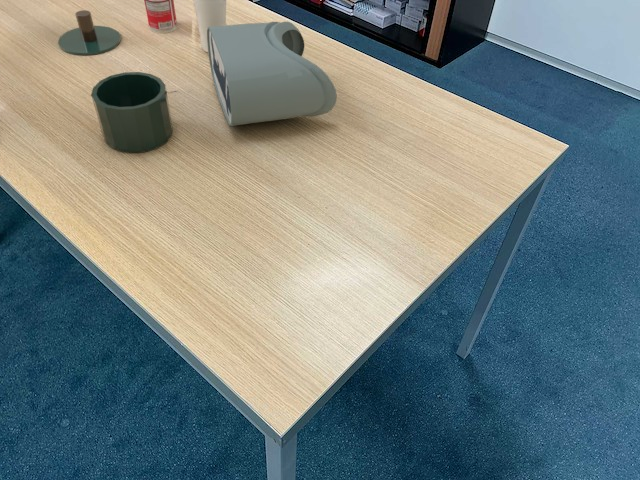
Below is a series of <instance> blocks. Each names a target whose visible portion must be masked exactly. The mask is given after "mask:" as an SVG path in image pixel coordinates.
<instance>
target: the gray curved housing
mask: <svg viewBox="0 0 640 480" xmlns="http://www.w3.org/2000/svg"><path fill="white" fill-rule="evenodd" d="M207 42H208V53H207V54H208V59H209V66H210V71H211V76H212V81H213V84H214V88H215V92H216V94H217V97H218V101H219V103H220V106H221V109H222V112H223V114H224V116H225V119H226V122H227V123H228V125H229V127H236V126H241V125H249V124H256V123H264V122H272V121H273V122H274V121H278V120H279V121H281V120H287V119H293V118H299V117H305V118H307V117H318V116H322V115H325V114H328V113H329V112H331V111H332V109H333V108H334V107H335V106H336V103H337V100H338V99H337V97H338V95H337V89H336V87H335V85H334V83H333V81H332V79H331V78H330V77H329V75H328V74H327V73H326V72H325V71H324V70H323V69H322V68H321V67H319V66H318V65H317V64H315V63H314V62H312V61H311V60H309V59H308V58H305V57H303V54H304V51H305V40H304V37H303V35H302V33H301V31H300V29H299V28H298V27H297V26H296V25H294V24H293V23H292V22H290V21H282V22H280V21H270V22H254V23H253V22H252V23H238V24H228V25H227V24H226V26H215V27H208V29H207Z"/></svg>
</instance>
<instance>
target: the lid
mask: <svg viewBox="0 0 640 480" xmlns="http://www.w3.org/2000/svg"><path fill="white" fill-rule="evenodd" d="M74 14H75V15H74V16H75V18H76V22H77V26H78V27H76V28H73V29H69V30H67V31H66V32H64V33H63V34H62V35H61V36H60V37H59V38H58V41H57V44H58V46H59V48H60V50H62V51H63V52H65V53H67V54H69V55H70V54H71V55H74V56H95V55H99V54H100V55H101V54H104V53H107V52H110V51H112V50H114V49H116V48H117V47H118V46H119V45H120V43H121V42H122V37H121V34H120V32H119V31H117V30H116V29H114V28H112V27H109V26H105V25H95V24H94V21H93V16H92V12H91V11H89V10H86V9H84V10H82V9H81V10H78V11H76V12H75V13H74Z"/></svg>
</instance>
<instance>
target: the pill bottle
mask: <svg viewBox="0 0 640 480" xmlns="http://www.w3.org/2000/svg"><path fill="white" fill-rule="evenodd" d="M143 1H144V7H145V11H146V18H147V22H148V28H149V30H150V31H151V32H153V33H157V34H168V33H173V32H174V31H176V30H177V28H178V21H177V14H176V8H175V1H174V0H143Z"/></svg>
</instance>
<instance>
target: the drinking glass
mask: <svg viewBox="0 0 640 480" xmlns="http://www.w3.org/2000/svg"><path fill="white" fill-rule="evenodd" d="M192 2H193V8H194V13H195V17H196V23H197V27H198V33H199V38H200V46H201V49H202V50H203V52H205V53H207V54H209V53H208V42H207V29H208V27H215V26H226V25H227V0H192Z"/></svg>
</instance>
